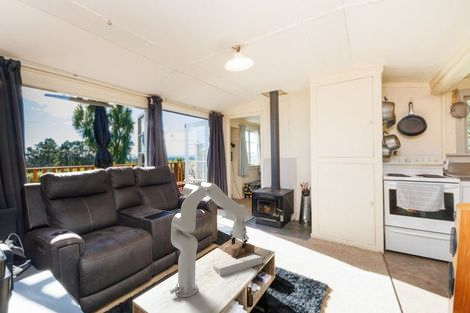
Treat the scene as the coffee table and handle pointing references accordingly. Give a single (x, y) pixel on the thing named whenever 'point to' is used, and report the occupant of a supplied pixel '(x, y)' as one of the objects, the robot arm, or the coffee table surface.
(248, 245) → the wooden corner bracket
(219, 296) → the coffee table surface
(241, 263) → the decorative molding
